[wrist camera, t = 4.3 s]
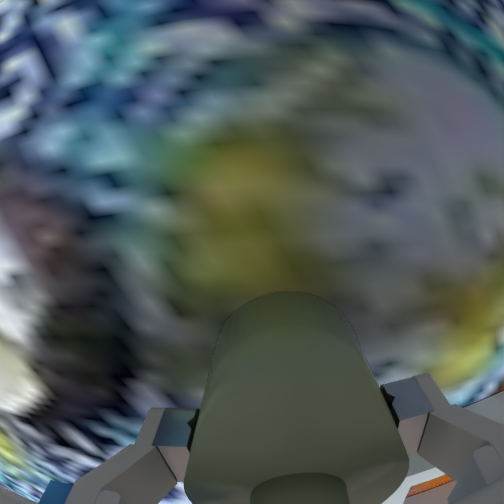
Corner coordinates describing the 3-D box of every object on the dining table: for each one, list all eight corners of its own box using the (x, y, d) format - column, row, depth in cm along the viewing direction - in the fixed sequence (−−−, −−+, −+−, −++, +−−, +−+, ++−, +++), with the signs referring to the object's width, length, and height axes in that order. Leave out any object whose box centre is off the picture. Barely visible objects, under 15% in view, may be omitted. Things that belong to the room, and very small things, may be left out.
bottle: (201, 302, 11) (119, 518, 3) (353, 281, 10) (472, 479, 3) (230, 410, 12) (208, 586, 5) (354, 394, 12) (403, 565, 4)
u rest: (374, 435, 13) (390, 481, 10) (516, 384, 12) (541, 414, 9) (358, 516, 15) (364, 548, 13) (469, 479, 15) (481, 505, 12)
